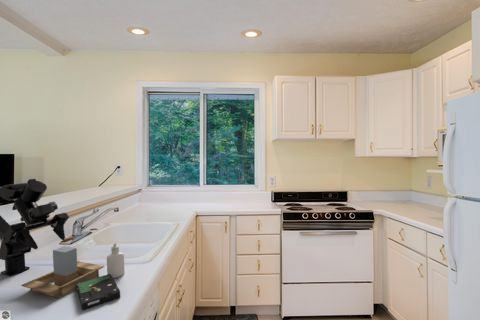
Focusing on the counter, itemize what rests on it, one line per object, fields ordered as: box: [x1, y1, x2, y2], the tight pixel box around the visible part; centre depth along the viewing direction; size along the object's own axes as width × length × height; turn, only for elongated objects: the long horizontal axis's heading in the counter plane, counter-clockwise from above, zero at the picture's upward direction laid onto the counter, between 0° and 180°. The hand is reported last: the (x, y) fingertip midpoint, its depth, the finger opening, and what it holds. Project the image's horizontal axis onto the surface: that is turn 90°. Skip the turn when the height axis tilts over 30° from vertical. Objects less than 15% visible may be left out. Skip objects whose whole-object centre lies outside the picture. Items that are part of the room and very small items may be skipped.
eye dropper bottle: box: [106, 242, 126, 279], centre depth 94 cm, size 4×6×12 cm
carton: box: [20, 260, 105, 299], centre depth 89 cm, size 14×19×3 cm
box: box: [52, 245, 79, 286], centre depth 89 cm, size 6×4×12 cm, turn 69°
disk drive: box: [76, 274, 121, 311], centre depth 82 cm, size 10×3×15 cm
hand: (51, 243), depth 91 cm, fingers open, 9 cm apart
